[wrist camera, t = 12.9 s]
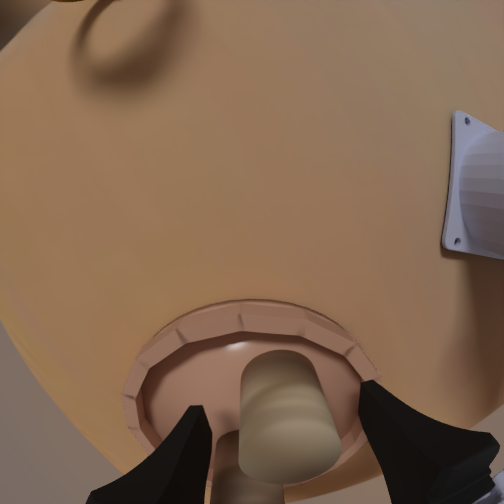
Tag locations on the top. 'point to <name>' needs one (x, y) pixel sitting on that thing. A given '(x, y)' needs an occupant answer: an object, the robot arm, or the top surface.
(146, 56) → the top surface
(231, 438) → the brown short cylinder
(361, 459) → the top surface
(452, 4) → the top surface
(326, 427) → the beige tall rounded piece
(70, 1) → the ring
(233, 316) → the dish
